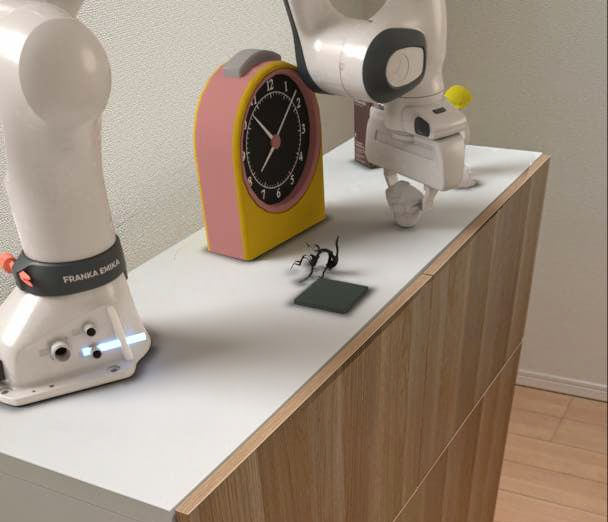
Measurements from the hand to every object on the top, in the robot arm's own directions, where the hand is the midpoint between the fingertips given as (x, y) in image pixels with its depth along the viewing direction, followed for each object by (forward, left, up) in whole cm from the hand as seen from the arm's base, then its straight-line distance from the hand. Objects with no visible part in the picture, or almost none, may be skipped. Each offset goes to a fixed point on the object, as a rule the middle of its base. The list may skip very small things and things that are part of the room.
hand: (410, 203), depth 127 cm
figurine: (+20, +11, -4) cm, 24 cm away
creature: (-23, -5, -4) cm, 24 cm away
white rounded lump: (-1, 0, -4) cm, 4 cm away
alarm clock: (-20, +13, -4) cm, 24 cm away
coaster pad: (-26, -13, -3) cm, 29 cm away
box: (+15, +29, -4) cm, 33 cm away
